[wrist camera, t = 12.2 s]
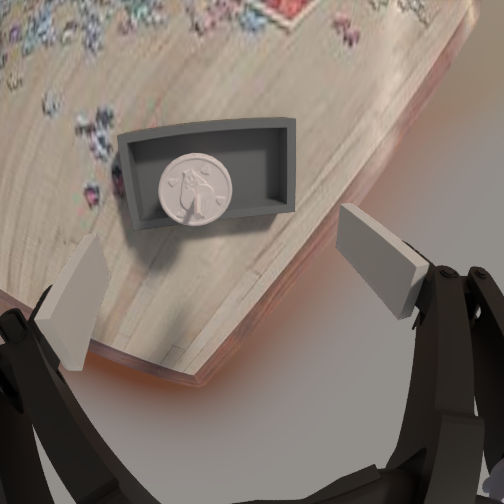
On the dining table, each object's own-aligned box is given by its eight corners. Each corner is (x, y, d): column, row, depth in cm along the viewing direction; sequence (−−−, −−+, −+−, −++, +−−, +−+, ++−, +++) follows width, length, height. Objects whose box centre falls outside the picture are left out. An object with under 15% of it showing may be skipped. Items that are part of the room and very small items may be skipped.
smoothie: (179, 202, 32) (170, 261, 20) (160, 153, 29) (135, 184, 17) (229, 184, 33) (251, 233, 21) (213, 134, 29) (225, 151, 17)
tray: (126, 132, 28) (117, 135, 25) (284, 117, 31) (295, 118, 27) (139, 217, 33) (133, 230, 30) (285, 201, 36) (294, 211, 33)
